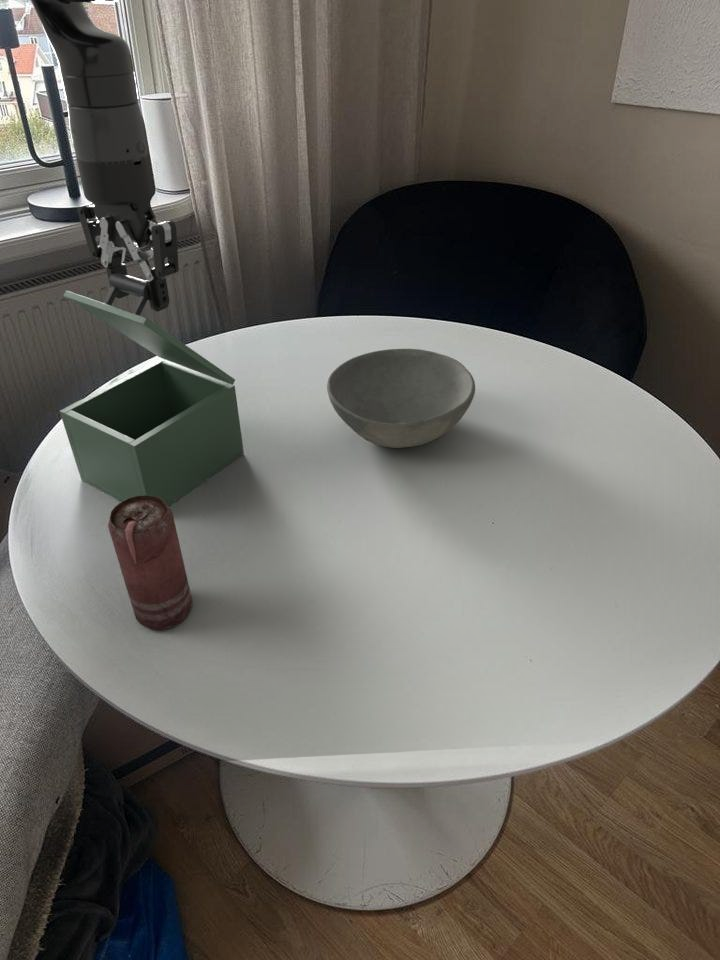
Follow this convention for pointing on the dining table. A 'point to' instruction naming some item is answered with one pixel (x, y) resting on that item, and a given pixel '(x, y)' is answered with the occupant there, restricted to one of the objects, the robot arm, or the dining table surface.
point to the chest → (155, 432)
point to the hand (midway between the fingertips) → (141, 302)
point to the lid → (144, 326)
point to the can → (151, 561)
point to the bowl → (401, 395)
